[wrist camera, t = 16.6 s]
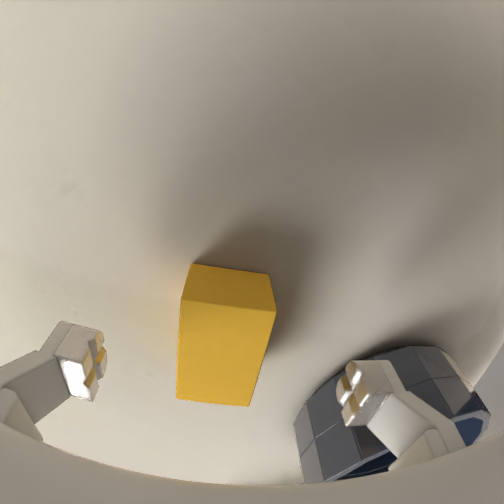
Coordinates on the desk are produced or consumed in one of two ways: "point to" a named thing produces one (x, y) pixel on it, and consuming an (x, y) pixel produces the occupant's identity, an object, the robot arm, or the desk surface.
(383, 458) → the bowl
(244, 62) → the desk surface
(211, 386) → the sponge
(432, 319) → the desk surface
